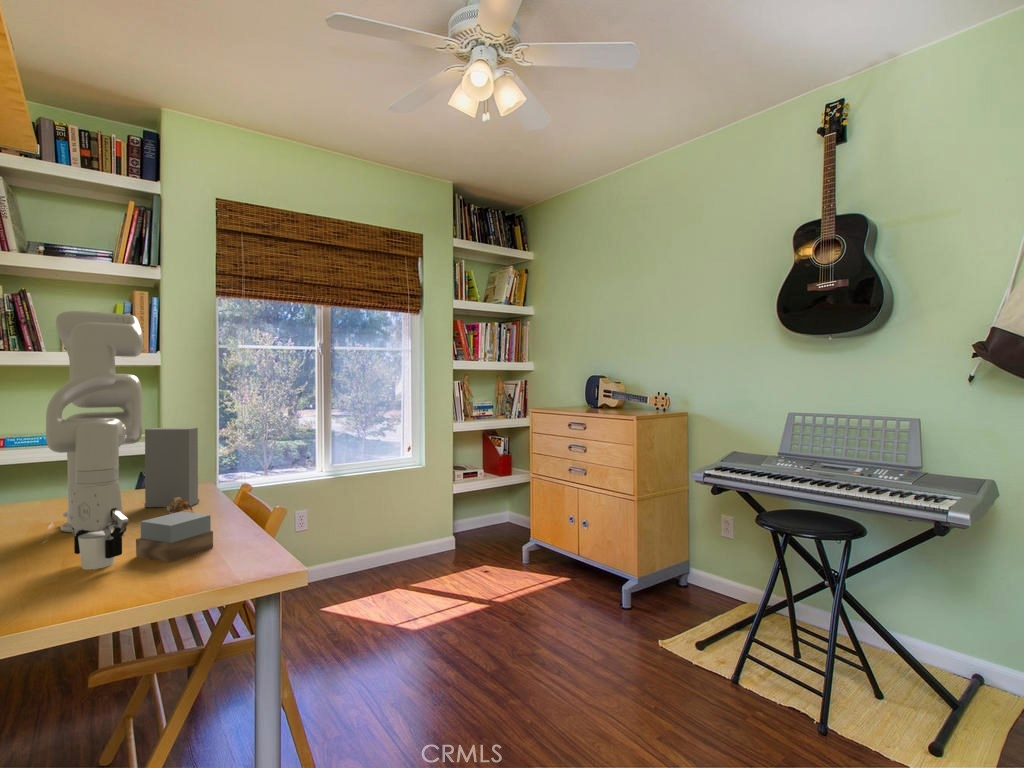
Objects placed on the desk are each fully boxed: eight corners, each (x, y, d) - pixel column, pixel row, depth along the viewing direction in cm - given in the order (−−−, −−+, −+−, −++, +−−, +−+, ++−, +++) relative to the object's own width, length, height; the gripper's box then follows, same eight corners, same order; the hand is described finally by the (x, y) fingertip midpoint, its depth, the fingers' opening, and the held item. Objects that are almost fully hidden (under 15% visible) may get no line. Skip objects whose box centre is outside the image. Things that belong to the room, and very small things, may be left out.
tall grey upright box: (199, 503, 174) (199, 427, 174) (189, 507, 168) (189, 429, 167) (156, 503, 173) (156, 427, 173) (144, 508, 167) (144, 429, 167)
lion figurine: (164, 531, 142) (164, 498, 142) (186, 526, 146) (186, 494, 146) (186, 542, 133) (186, 506, 133) (208, 537, 137) (208, 502, 137)
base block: (136, 558, 122) (136, 539, 122) (180, 544, 132) (180, 526, 132) (170, 564, 118) (170, 544, 118) (213, 549, 128) (213, 530, 128)
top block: (140, 538, 122) (140, 521, 122) (181, 527, 131) (181, 511, 131) (170, 543, 118) (170, 525, 118) (210, 531, 128) (210, 515, 128)
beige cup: (95, 571, 112) (95, 539, 112) (69, 569, 114) (69, 537, 113) (125, 560, 119) (125, 530, 119) (100, 558, 120) (100, 528, 120)
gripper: (52, 477, 115) (52, 555, 115) (107, 482, 110) (107, 564, 110) (89, 472, 122) (89, 545, 122) (142, 476, 117) (143, 553, 117)
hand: (98, 554), depth 116 cm, fingers open, 9 cm apart
